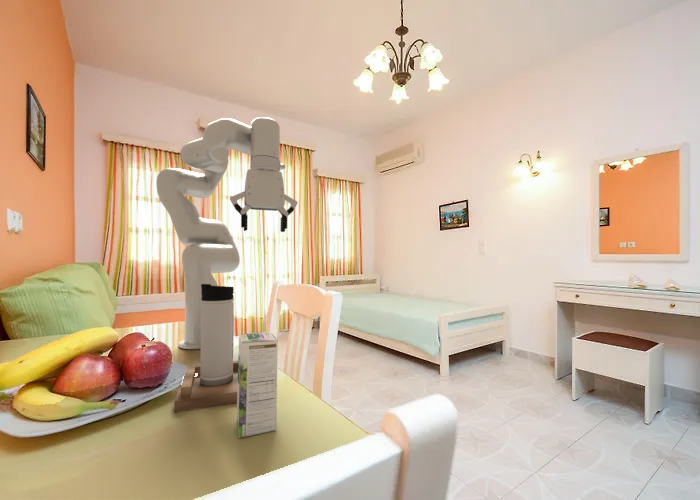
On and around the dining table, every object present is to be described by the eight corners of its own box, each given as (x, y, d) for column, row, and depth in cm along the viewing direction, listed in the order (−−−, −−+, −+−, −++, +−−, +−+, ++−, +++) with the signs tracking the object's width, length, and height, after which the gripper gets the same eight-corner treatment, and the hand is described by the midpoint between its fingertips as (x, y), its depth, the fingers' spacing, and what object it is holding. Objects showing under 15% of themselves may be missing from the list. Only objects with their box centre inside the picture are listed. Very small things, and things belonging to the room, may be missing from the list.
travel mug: (191, 383, 65) (192, 283, 65) (218, 373, 71) (219, 281, 71) (213, 389, 62) (214, 284, 63) (239, 378, 68) (240, 282, 68)
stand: (182, 383, 70) (183, 365, 70) (250, 375, 75) (250, 358, 75) (174, 412, 57) (174, 390, 57) (256, 399, 62) (256, 379, 62)
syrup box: (235, 421, 54) (236, 334, 54) (271, 414, 56) (272, 331, 57) (238, 439, 49) (239, 342, 49) (278, 430, 51) (278, 338, 52)
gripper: (294, 173, 93) (293, 233, 93) (230, 167, 87) (229, 231, 86) (300, 166, 86) (299, 231, 86) (230, 159, 80) (230, 228, 79)
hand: (264, 231), depth 86 cm, fingers open, 9 cm apart
